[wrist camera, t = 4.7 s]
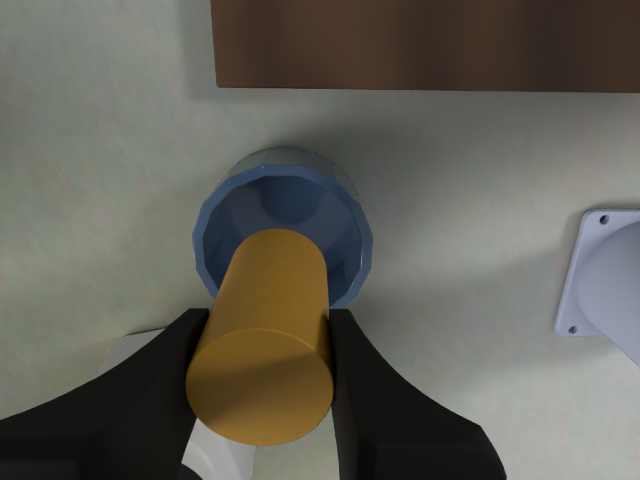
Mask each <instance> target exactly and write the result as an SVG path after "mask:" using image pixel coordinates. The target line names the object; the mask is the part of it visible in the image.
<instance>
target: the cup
mask: <svg viewBox="0 0 640 480" xmlns="http://www.w3.org/2000/svg"><path fill="white" fill-rule="evenodd" d="M267 229H287V230H292V231H295V232H297V233H300V234H302V235H304V236H305V237H307V238H308V239H310V240H311V241H312V242H313V243H314V244H315V245H316V246H317V247H318V249H319V250H320V251H321V253H322V255H323V257H324V260H325V263H326V269H327V284H328V300H329V309H342V308H343V307H344V306H346V305H347V304H348V303H349V302H350V301H352V300H353V299H354V298H355V297H356V296H357V294H358V292H359V290H360V288H361V286H362V284H363V283H364V281H365V279H366V277H367V275H368V273H369V271H370V268H371V258H372V243H373V237H372V233H371V230H370V227H369V224H368V221H367V218H366V215H365V212H364V210H363V207H362V204H361V202H360V199H359V196H358V194H357V191H356V188H355V186H354V184H353V183H352V182H351V181H350V179H349V178H348V177H347V176H346V174H345V173H344V172H343V171H342V170H341V169H340V168H339V167H338V166H336V165H335V164H334V163H333V162H331V161H330V160H328V159H327V158H325V157H323V156H321V155H319V154H317V153H314V152H311V151H308V150H304V149H299V148H291V147H280V148H272V149H267V150H263V151H260V152H257V153H254V154H252V155H250V156H248V157H246V158H245V159H243V160H242V161H240V162H238V163H237V164H236V165H235V166H234V167H233V168H232V169H231V170H230V171H229V172H228V173H227V175H226V176H225V177H224V178H223V179H222V180H221V181H220V182H219V183H218V184H217V186H216V187H215V188H214V190H213V191H212V192H211V194H210V195H209V196H208V198H207V199H206V200H205V202H204V203H203V205H202V207H201V210H200V213H199V216H198V219H197V222H196V225H195V228H194V231H193V234H192V242H193V251H194V260H195V267H196V270H197V272H198V274H199V275H200V277H201V279H202V281H203V282H204V284H205V286H206V288H207V289H208V291H209V293H210V295H211V296H212V297H213V298H214V299H215V300H216V297H217V295H218V292H219V290H220V287H221V285H222V282H223V280H224V277H225V275H226V272H227V270H228V267H229V265H230V262H231V260H232V258H233V255H234V253H235V251H236V250H237V248H238V247H239V245H240V244H241V243H242V242H243V241H244V240H246V239H247V238H248V237H250V236H251V235H253V234H255V233H257V232H260V231H263V230H267Z"/></svg>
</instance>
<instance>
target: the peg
mask: <svg viewBox="0 0 640 480" xmlns="http://www.w3.org/2000/svg"><path fill="white" fill-rule="evenodd" d="M185 389H186V395H187V399H188V402H189V404H190V407H191V408H192V410H193V412H194V414H195V415H196V416H197V417H198V419H199V420H200V421H201V422H202V423H203V424H204V425H205V426H206V427H208V428H209V429H210V430H212V431H213V432H215V433H216V434H218V435H220V436H222V437H224V438H226V439H229V440H232V441H234V442H238V443H242V444H247V445H255V446H269V445H278V444H283V443H287V442H290V441H293V440H296V439H298V438H300V437H302V436H304V435H306V434H307V433H309V432H310V431H312V430H313V429H314V428H315V427H316V426H318V425H319V424H320V422H321V421H322V420H323V419H324V417H325V416H326V414H327V413H328V411H329V409H330V407H331V404H332V401H333V397H334V377H333V362H332V354H331V345H330V335H329V300H328V284H327V269H326V263H325V260H324V257H323V255H322V253H321V251H320V250H319V249H318V247H317V246H316V245H315V244H314V243H313V242H312V241H311V240H310V239H308V238H307V237H305V236H304V235H302V234H300V233H297V232H295V231H292V230H287V229H267V230H263V231H260V232H257V233H255V234H253V235H251V236H250V237H248V238H247V239H246V240H244V241H243V242H242V243H241V244H240V245H239V247H238V248H237V250H236V251H235V253H234V255H233V258H232V260H231V262H230V265H229V267H228V270H227V272H226V275H225V277H224V280H223V282H222V285H221V287H220V290H219V292H218V295H217V297H216V300H215V302H214V305H213V307H212V310H211V312H210V314H209V317H208V319H207V322H206V324H205V327H204V329H203V332H202V334H201V337H200V339H199V342H198V344H197V347H196V349H195V352H194V354H193V357H192V359H191V362H190V364H189V366H188V370H187V373H186V379H185Z"/></svg>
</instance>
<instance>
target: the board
mask: <svg viewBox="0 0 640 480" xmlns="http://www.w3.org/2000/svg"><path fill="white" fill-rule="evenodd" d="M210 2H211V16H212V29H213V43H214V56H215V70H216V83H217V87H219V88H292V89H368V90H444V91H520V92H596V93H640V0H210Z"/></svg>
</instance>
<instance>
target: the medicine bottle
mask: <svg viewBox="0 0 640 480" xmlns="http://www.w3.org/2000/svg"><path fill="white" fill-rule="evenodd" d="M165 329H166V328H165ZM163 330H164V329H159V330H154V331H149V332H144V333H139V334H134V335H129V336H124V337H122V338H120V340H119V341H118V342H117V344H116V345H115V347H114V348H113V350H112V351H111V353H110V354H109V356H108V357H107V358H106V360H105V361H104V363H103V364H102V366H101V367H100V369H99V370H98V372H97V373H96V374H95V376H94V377H93V379H95V378H97V377H98V376H100V375H102V374H103V373H105V372H107V371H108V370H110V369H112V368H113V367H115V366H116V365H118V364H119V363H121V362H122V361H124V360H125V359H127V358H128V357H130V356H131V355H132V354H134V353H135V352H136V351H138V350H139V349H140V348H142V347H143V346H144V345H146V344H147V343H148V342H150V341H151V340H152V339H154V338H155V337H156V336H157V335H158V334H160V333H161V332H162V331H163ZM93 379H92V380H93ZM255 452H256V446H255V445H247V444H242V443H238V442H234V441H232V440H229V439H226V438H224V437H222V436H220V435H218V434H216V433H215V432H213V431H212V430H210V429H209V428H208V427H206V426H205V425H204V424H203V423H202V422H201V421H200V420H199V419H198V417H197V420H196V422H195V425H194V428H193V431H192V433H191V436H190V439H189V441H188V444H187V447H186V450H185V453H184V456H183V459H182V462H181V466H180V470H179V474H178V478H177V480H252V473H253V466H254V459H255Z"/></svg>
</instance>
